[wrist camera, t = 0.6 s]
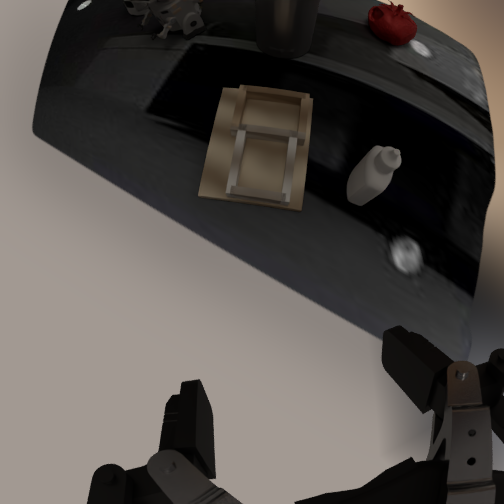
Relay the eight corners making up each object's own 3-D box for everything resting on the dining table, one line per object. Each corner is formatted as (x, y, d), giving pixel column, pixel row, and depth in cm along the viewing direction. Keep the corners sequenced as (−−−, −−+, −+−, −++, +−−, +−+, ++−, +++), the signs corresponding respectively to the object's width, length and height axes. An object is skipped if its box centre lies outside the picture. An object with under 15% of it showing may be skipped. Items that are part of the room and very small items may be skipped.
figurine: (139, 40, 38) (112, -12, 23) (188, 12, 38) (172, -42, 23) (161, 58, 37) (133, -2, 22) (214, 27, 38) (202, -34, 23)
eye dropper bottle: (333, 186, 35) (364, 150, 23) (360, 162, 35) (396, 122, 23) (356, 211, 35) (396, 185, 23) (381, 186, 35) (425, 154, 23)
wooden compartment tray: (224, 91, 36) (221, 79, 33) (311, 102, 36) (315, 91, 33) (199, 197, 35) (194, 191, 32) (300, 212, 35) (303, 206, 32)
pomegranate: (413, 39, 37) (430, 13, 28) (399, 57, 36) (419, 27, 27) (374, 14, 37) (386, -15, 28) (355, 28, 37) (369, -4, 28)
